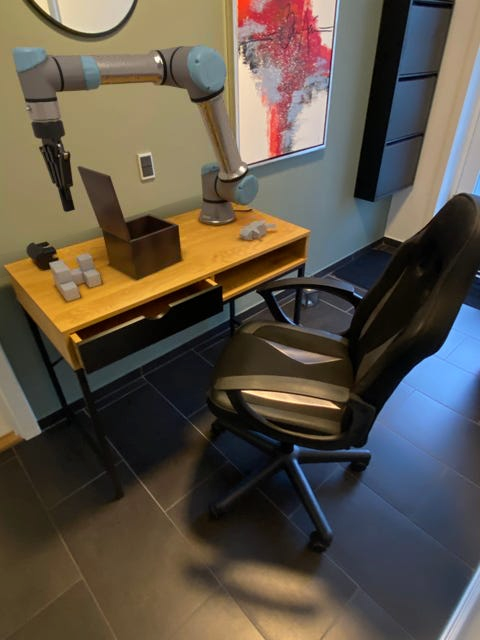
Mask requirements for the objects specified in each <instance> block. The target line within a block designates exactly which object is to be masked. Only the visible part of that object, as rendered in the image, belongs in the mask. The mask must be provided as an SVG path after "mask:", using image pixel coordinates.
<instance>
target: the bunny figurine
mask: <svg viewBox="0 0 480 640" xmlns="http://www.w3.org/2000/svg"><path fill="white" fill-rule="evenodd" d="M266 222H267V220H266V219H264V218H262V219H261V220H260V221H258V220H254V221H251V222H250V224H249V225H242V227H241V231H239V233H238V234H239V238H240V239H243V240H245V241H250V242H251V241H253V240H254V239H261V238H262V237H263V236H264V235H266V232H267V230H269V229H276V228H277V225H276V223H275V222H271V223H267V224H266Z"/></svg>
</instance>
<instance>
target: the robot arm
mask: <svg viewBox="0 0 480 640" xmlns="http://www.w3.org/2000/svg"><path fill="white" fill-rule="evenodd" d="M12 57H13V58H12V59H13V62H14V67H15V73H16V75H17V78H18V81H19V85H20V89H21V91H22V94H23V98H24V101H25V108H24V109H25V111H26V112H27V113H28V117H29V119H30V120H31V121H32V122H31V123H30V125H31V128H32V132H33V135H34V137H35V138H36V139H38V140H41V146H38V149H39V151H40V154H41V155H42V157H43V161H44V164H45V166H46V169H47V171H48V174H49V177H50V180H51V183H52V184H53V185H54V184H55V187H56V188H57V191H58V193H59V194H58V195H59V198H60V201H61V206H62V209H63V212H65V213H68V212H73V211H75V210H76V208H75V204H74V200H73V196H72V191H71V187H74V181H73V180H74V179H73V172H72V164H71V152H70V150H69V151H66V150H65V146H64V144H63V141H62V137H65V136H66V131H65V127H64V123H63V121H62V120H61V118H62V113H61V108H60V103H59V99H58V97H57V93H63V92H79V91H86V92H89V91H93V90H98V89H99V87H100V86H109V85H110V86H113V85H128V84H146V83H147V84H148V83H151V84H152V85H154V86H156V87H158V86H166V87H171V88H177V89H183V90H186V92H187V94H188V96H189V100H190V102H191V104H194V105H196V107H197V108H198V111H199V113H200V116H201V117H200V118H201V119H202V122H203V126H204V128H205V130H206V133H207V136H208V139H209V142H210V145H211V147H212V151H213V153H214V157H215V159H216V161H215V162H209V163H206V164H204V165H202V166H201V168H200V169H201V170H200V171H201V172H200V176H201V190H202V191H201V192H202V204H201V211H200V212H199V222H201V223H202V224H205V225H208V226H226V225H230V224H232V223H234V221H236V212H237V213H238V212H241V213H246V212H247V213H248V212H252V211H253V208H250V209H234V208H233V205H232V204H235V205H240V206H248V205H250V204H251V203H253V201H254V200H255V199H256V197H257V196H258V193H259V190H260V189H259V187H260V183H259V180H258V178H257V177H256V176H255V175H254V174H251V173H250V170H249V166H248V164H247V162H245V161H243V160H242V157H241V154H240V151H239V147H238V144H237V141H236V136H235V133H234V131H233V127H232V124H231V121H230V118H229V114H228V110H227V108H226V105H225V102H224V98H223V94H224V92H225V90H226V88H225V83H226V80H227V79H226V77H227V65H226V62H225V60H224V57H223V56H222V55H221V53H220V52H219V51H218V50H217V49H216V48H213V47H211V46H206V45H182V46H181V45H179V46H174V47H169V48H163V49H151V50H150V51H149V52H148V53H134V54H133V53H131V54H129V53H128V54H122V53H121V54H72V55H65V54H64V55H62V54H61V55H60V54H59V55H58V54H57V55H54V54H48V53H47V51H46V48H44V47H43V46H33V47H32V46H16V47H14V48H13V50H12Z"/></svg>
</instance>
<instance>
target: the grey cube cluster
mask: <svg viewBox="0 0 480 640" xmlns="http://www.w3.org/2000/svg"><path fill="white" fill-rule="evenodd" d="M75 258H76V262H77V265H78V267H76V268H71V269H70V268H69V267H68V266H67V264H66V263H65V261H64V260H63V259H59V261H55V262H51V263H49V265H50V268H51V269H50V271H51V274H52V277H53V280H54V284H55V286H56V288H57V289H58V291H59V292H60V293H61V296H62V297H63V298H64V300H66V302H70V301H75V300H77V299H80V298H81V294H80V290H79V287H78V286H79V285H84V284H86V285H87V286H88V288H94V287H98V286H101V285H103V284H102V279H101V274H100V273H99V271H98V270H97V269H96V268H95V264H94V259H93V256H92V255H91V254H90V253H89V252H85V253H82V254H78V255H76V256H75Z"/></svg>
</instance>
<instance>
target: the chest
mask: <svg viewBox="0 0 480 640" xmlns="http://www.w3.org/2000/svg"><path fill="white" fill-rule="evenodd" d="M125 223H126V226H127V229H128V232H129V235H130V238H131V240H132V241H127V240H125V239H123V238H120V237H118V236H116V235H114V234H112V233H110V232H108V231H105V230H103V229H101V233H102V237H103V242H104V246H105V251H106V255H107V261H108V265H109V266H111V267H112V268H114V269H116V270H117V271H120V272H121V273H123V274H125V275H127V276H129V277H131V278H132V279H134V280H135V281H138V280H140V279H143V278H145V277H147V276H149V275H152V274H154V273H157V272H159V271H162V270H163V269H166V268H169V267H170V266H173V265H175V264H177V263H180V262H182V261H183V257H182V249H181V247H182V245H181V238H180V227H179V224H177V223H174V222H171V221H169V220H167V219H164V218H161V217H159V216H156V215H154V214H150V213H148V214H143V215H141V216H138V217H135V218H132V219H128V220H125ZM133 239H134V240H133Z"/></svg>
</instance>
